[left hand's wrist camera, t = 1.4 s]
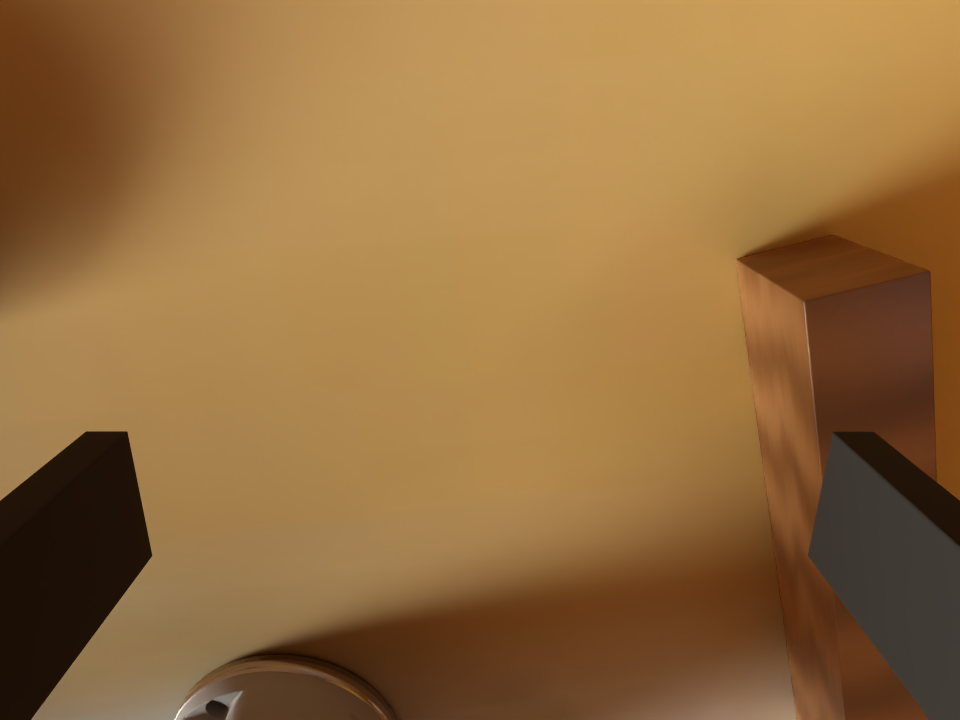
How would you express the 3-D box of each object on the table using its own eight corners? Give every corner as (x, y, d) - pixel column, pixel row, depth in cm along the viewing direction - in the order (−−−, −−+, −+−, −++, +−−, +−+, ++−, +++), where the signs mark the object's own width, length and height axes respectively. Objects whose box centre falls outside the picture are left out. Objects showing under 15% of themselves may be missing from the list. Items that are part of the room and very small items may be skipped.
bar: (872, 715, 45) (947, 835, 37) (797, 728, 45) (858, 849, 38) (833, 234, 33) (931, 270, 26) (734, 258, 34) (803, 301, 26)
